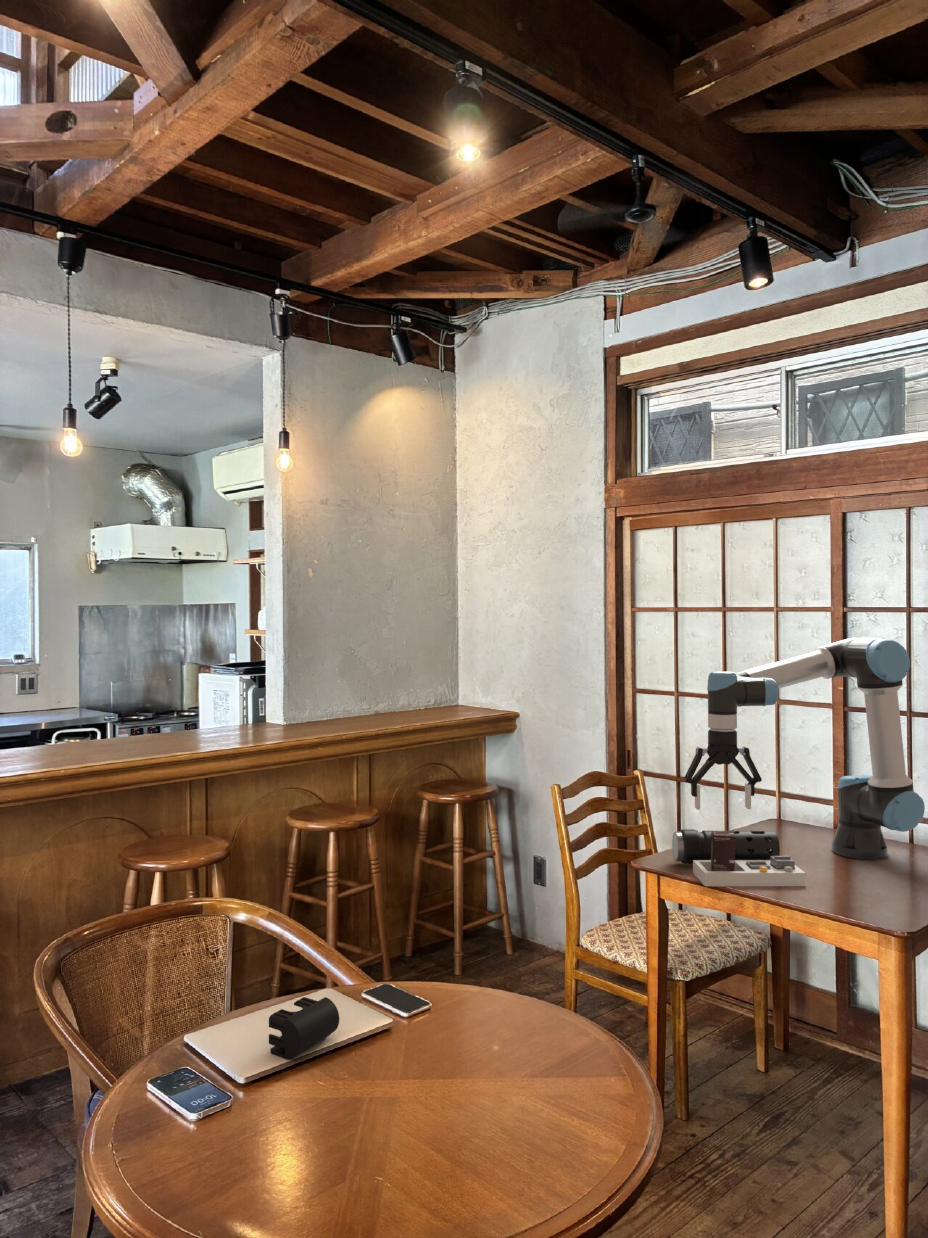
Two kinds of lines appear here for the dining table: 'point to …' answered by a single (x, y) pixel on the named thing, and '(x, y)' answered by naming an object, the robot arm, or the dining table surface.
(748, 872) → the grey compartment tray
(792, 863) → the button
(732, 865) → the box
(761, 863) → the button
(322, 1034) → the end cap
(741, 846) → the muzzle brake
